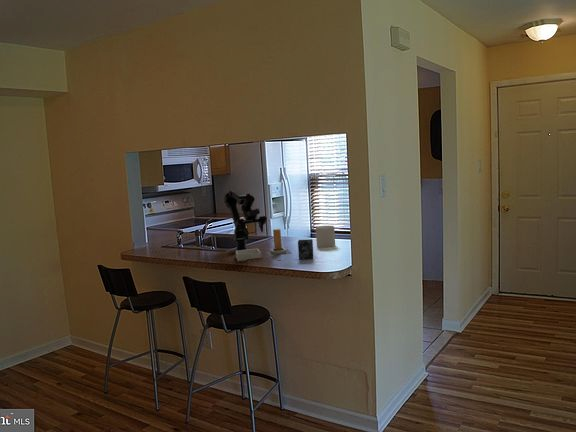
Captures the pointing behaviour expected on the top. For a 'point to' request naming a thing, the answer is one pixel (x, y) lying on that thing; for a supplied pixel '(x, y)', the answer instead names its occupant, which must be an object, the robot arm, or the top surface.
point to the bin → (247, 254)
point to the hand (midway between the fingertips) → (255, 233)
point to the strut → (277, 239)
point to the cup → (325, 236)
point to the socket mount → (278, 252)
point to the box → (305, 249)
